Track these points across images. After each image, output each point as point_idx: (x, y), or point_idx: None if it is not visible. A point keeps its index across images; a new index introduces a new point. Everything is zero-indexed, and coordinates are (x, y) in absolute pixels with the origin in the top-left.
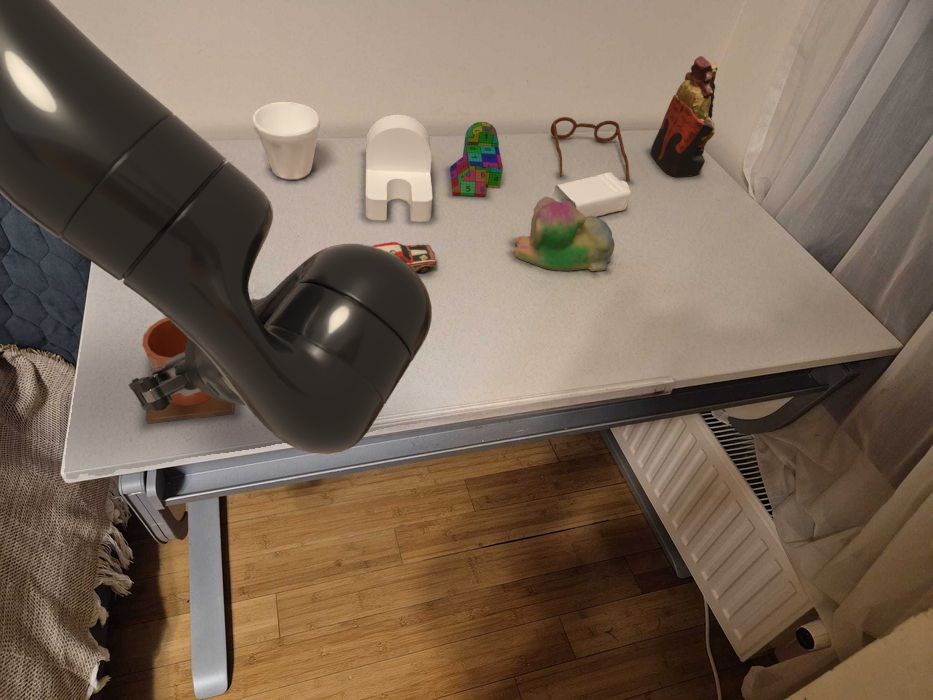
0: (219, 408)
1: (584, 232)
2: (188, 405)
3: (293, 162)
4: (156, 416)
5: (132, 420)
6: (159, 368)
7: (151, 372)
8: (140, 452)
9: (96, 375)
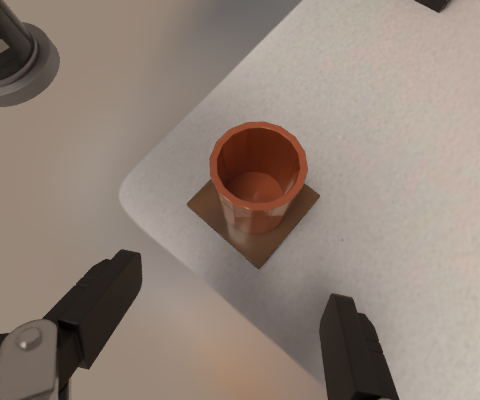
0: (250, 254)
1: None
2: (229, 223)
3: None
4: (196, 209)
5: (181, 191)
6: (50, 331)
7: (25, 328)
8: (158, 231)
9: (198, 120)
